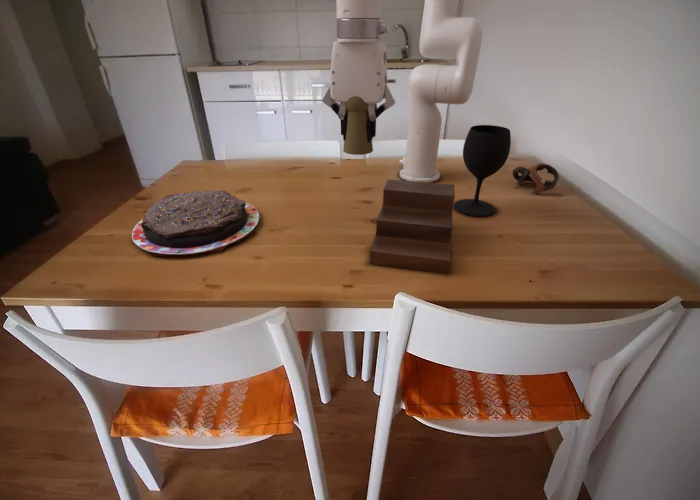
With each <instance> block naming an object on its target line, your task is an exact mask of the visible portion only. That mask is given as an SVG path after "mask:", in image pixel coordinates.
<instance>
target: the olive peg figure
mask: <svg viewBox="0 0 700 500" xmlns="http://www.w3.org/2000/svg"><path fill="white" fill-rule="evenodd" d="M345 105H346V109H347V110H348V113H347V131H346V140H345V141H344V140H343V150H342V151H343V153H345V154H348V155H353V156H354V155H355V156H360V155H361V156H363V155H368V154H371V153H373V151H374V148H373V139H371V142H367V132H366V130H367V121H368V117H369V112H368V104H367V103H366V102H364V100H363V99H362V98H361V97H358V96H353V97H350V98H349V99H348V101H347V102H346V103H345Z"/></svg>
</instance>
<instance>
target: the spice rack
mask: <svg viewBox="0 0 700 500" xmlns="http://www.w3.org/2000/svg"><path fill="white" fill-rule="evenodd" d="M382 194H383V195H382V206H381V207H380V211H379V213H378V215H377V218H376V225H375V226H376V227H375V228H376V229H375V230H376V231H375V237H374V240H373V243H372V245H371V247H370V250H369V264H370V265H376V266H384V267H392V268H400V269H406V270H407V269H408V270H415V271H423V272H431V273H439V274H449V269H450V263H451V240H452V235H453V233H452V232H453V208H454V204H455V195H456V193H455V184H452V183H440V182H439V183H438V182H429V183H428V182H415V181H407V180H401V179H390V178H388V179H387V180H386V183H385V185H384V187H383V193H382Z"/></svg>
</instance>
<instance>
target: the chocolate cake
mask: <svg viewBox="0 0 700 500" xmlns="http://www.w3.org/2000/svg"><path fill="white" fill-rule="evenodd" d="M259 221H260V213H259V211H258V209H257V208H256V207H254V205H252V204H250V203H247V202H246V201H245V200H243V199H240V198H238V197H236V196H235V195H233V194H232V193H230V192H229V191H227V190H202V191H201V190H199V191H198V190H197V191H190V192H189V191H188V192H182V193H172V194H168V195H166V196H164V197H163V198H161V199H159V200H157V201H155V202H154V203H151V204H150V205H149V208H147V211H146V212H145V214H144V216H143V218H142V219H140V220H139V221H138V222H137V224H136V225H134V227H133V229H132V231H131V239H132V242H133V243H134V244H135V245H136V246H137V247H139V248H140V249H142V250H143V251H147V253H148V254H152V255H154V256H157V257H169V256H186V255H187V256H188V255H196V254H204V253H216V252H222V251H223V250H224V249H225V248H227V247H228V246H229V245H231V244H236V243H240V242H241V241H243V240H246V239H247V238H249V237H250V236H254V231H255V229H256V227H257V226H258V224H259Z"/></svg>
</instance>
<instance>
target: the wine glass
mask: <svg viewBox="0 0 700 500" xmlns="http://www.w3.org/2000/svg"><path fill="white" fill-rule="evenodd" d="M511 138H512V136H511V129H510V128H508V127H504V126H499V125H494V124H493V125H492V124H478V125H473V126H471V127H470V128H469V130H468V132H467V135H466V138H465V139H464V143H463V147H462V158H463V163H464V165H465V167H466V169H467V170H468V171H469V173H470V174H471V175H472V176H474V177H475V179H476V187H475V193H474V197H473V198H466V199H459V200H457V201H456V202H454V203H453V208H454V209H455V211H457V212H458V213H460V214H462V215H464V216H468V217H475V218H486V217H487V218H488V217H490V216H493V215H494V214H496V207H495V206H494V205H493V204H492V203H490V202H487V201H485V200H480V193H481V188H482V184H483V182H484V181H485V180H486V179H487V178H489V177H491V176H493V175H494V174H496V173H497V172H499V171H500V170H501V169H502V168H503V167H504V165H505V164H506V162H507V160H508V158H509V156H510V151H511V144H512V139H511Z"/></svg>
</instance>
